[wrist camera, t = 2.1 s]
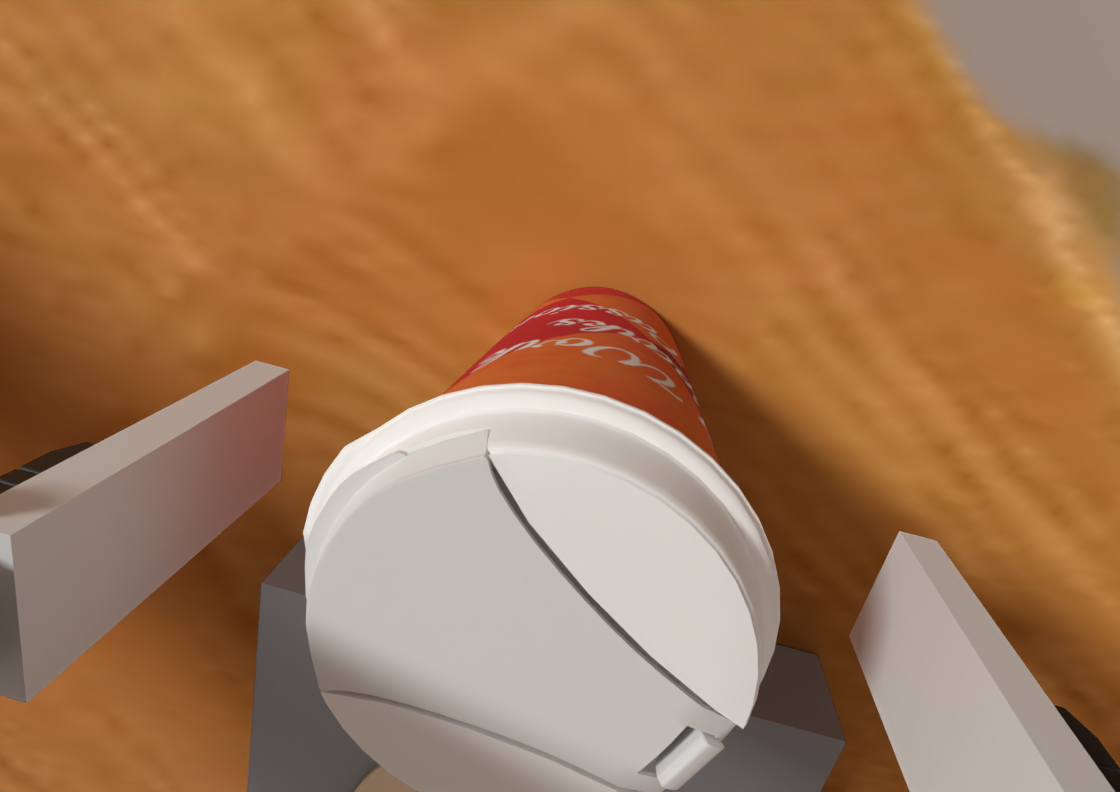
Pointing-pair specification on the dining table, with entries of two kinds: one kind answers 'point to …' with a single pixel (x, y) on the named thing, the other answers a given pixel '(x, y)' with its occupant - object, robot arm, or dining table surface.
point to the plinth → (367, 788)
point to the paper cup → (543, 570)
